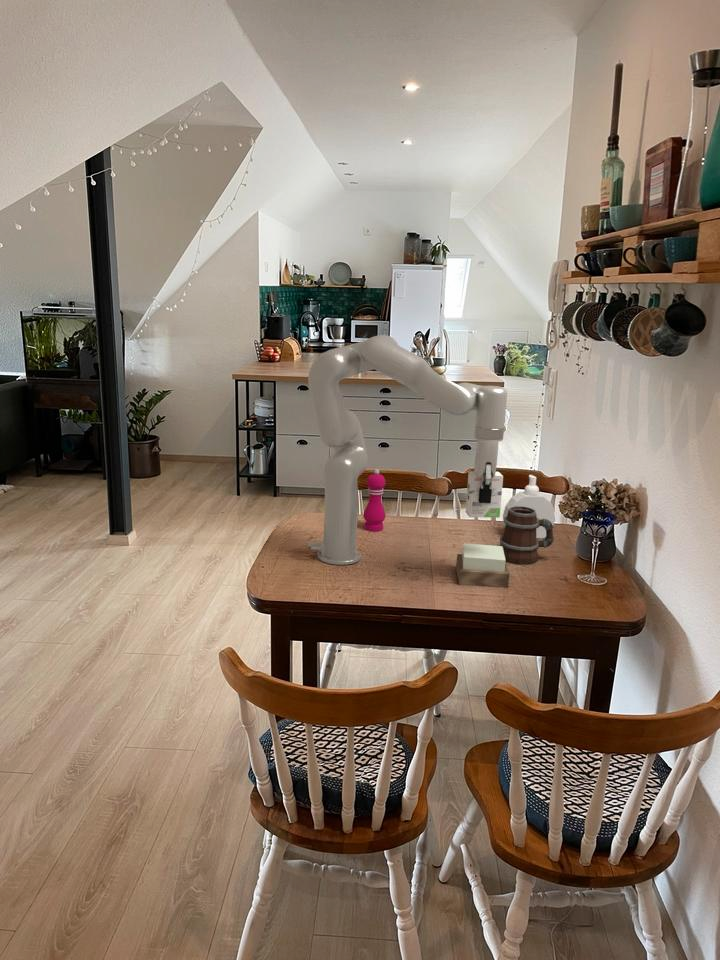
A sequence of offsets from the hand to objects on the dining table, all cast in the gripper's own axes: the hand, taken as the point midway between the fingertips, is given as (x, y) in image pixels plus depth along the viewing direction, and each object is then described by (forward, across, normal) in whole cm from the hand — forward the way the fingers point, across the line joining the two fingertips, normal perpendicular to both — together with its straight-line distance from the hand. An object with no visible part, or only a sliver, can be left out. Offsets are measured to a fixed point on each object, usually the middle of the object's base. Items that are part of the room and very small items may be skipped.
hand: (483, 498), depth 198 cm
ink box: (+5, 0, 0) cm, 5 cm away
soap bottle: (+23, -39, +19) cm, 49 cm away
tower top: (+19, -1, +1) cm, 19 cm away
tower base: (+23, -1, +1) cm, 23 cm away
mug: (+23, -18, +16) cm, 33 cm away
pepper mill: (+23, -36, -31) cm, 53 cm away
